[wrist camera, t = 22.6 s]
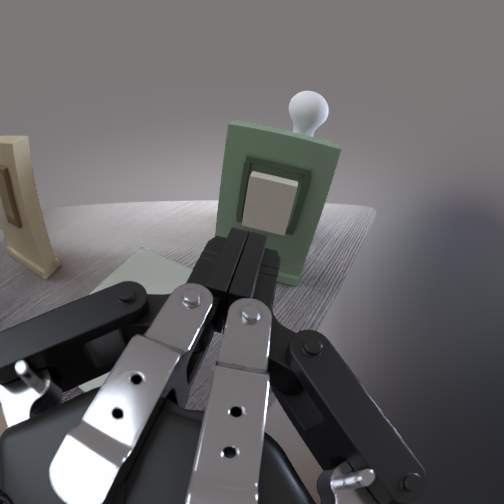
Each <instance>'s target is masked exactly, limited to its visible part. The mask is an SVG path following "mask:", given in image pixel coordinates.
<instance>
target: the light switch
mask: <svg viewBox="0 0 504 504" xmlns="http://www.w3.org/2000/svg"><path fill="white" fill-rule="evenodd" d="M192 271H193V269H191V268H189V267H186V266H184V265H182V264H179V263H177V262H175V261H172V260H170V259H168V258H166V257H163V256H161V255H159V254H157V253H154V252H152V251H150V250H148V249H145V248H143V247H142V248H140V249H139V250H137V251H136V252H135V253H134V254H133V255H132V256H130V257H129V258H128V259H127V260H126V261H125V262H124V263H123V264H121V265H120V266H119V267H118V268H117V269H116V270H115V271H114V272H112V273H111V274H110V275H109V276H108V277H107V278H106V279H105V280H104V281H103V282H102V283H101V284H99V285H98V286H97V287H96V288H95V289H94V290H93V291H92V292H91V293H90V294H93V293H95V292H98V291H100V290H103V289H105V288H108V287H110V286H113V285H115V284H118V283H120V282H124V281H134V282H137V283H139V284H141V285H142V286H143V287H144V288H145V289H146V292H147V294H170V293H172V292H173V291H174V289H176V288H177V287H178V286H180V285H183V284H185V283H186V282H187V280H188V278H189V276H190V274H191V272H192ZM90 294H89V295H90ZM109 373H110V372H109ZM109 373H106V374H104V375H102V376H100V377H97V378H95V379H93V380H91V381H89V382H86V383H84V384H82V385H79V386H77V387H79V388H80V389H81V390H82V391H83V392H87V391H89V390H91V389H94V388H97V387H100V386H102V384H103V383H104V381H105V380H106V378H107V376H108V375H109Z"/></svg>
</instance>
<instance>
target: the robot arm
mask: <svg viewBox="0 0 504 504" xmlns="http://www.w3.org/2000/svg"><path fill="white" fill-rule="evenodd" d="M266 241H267V235H263V234H259V233H255V232H250V234H249V231H247V230H243V229H238V228H234V227H232V228H231V230H230V232H229V234H228V236H227V238H224V237H220V236H216V237H214V238H213V239H211V240H210V241H208V243H207V245H206V247H205V248H204V251H203V252H202V254H201V256H200V258H199V259H198V261H197V263H196V265H195V267H194V269H193V271H192V272H191V274H190V276H189V278H188V280H187V282H186V283H185V284H183V285H180V286H178V287H177V288H176V289H174V291H173V292H172V293H170V294H147V292H146V289H145V288H144V287H143V286H142V285H141V284H139V283H137V282H134V281H124V282H120V283H118V284H115V285H113V286H110V287H108V288H105V289H103V290H100V291H98V292H95V293H93V294H90V295H88V296H85V297H83V298H80V299H78V300H75V301H73V302H71V303H68V304H66V305H63V306H61V307H58V308H56V309H54V310H51V311H49V312H46V313H44V314H42V315H39V316H37V317H35V318H32V319H30V320H27V321H25V322H23V323H20V324H18V325H16V326H13V327H11V328H9V329H7V330H4V331H2V332H0V402H1V407H2V410H3V414H4V418H5V421H6V424H7V429H6V430H5V431H4V432H3V433H2V435H1V437H0V504H316V503H315V501H314V500H313V498H312V497H311V495H310V494H309V492H308V490H307V489H306V487H305V486H304V484H303V482H302V481H301V479H300V477H299V476H298V474H297V473H296V471H295V469H294V467H293V466H292V464H291V462H290V461H289V459H288V457H287V456H286V454H285V452H284V451H283V449H282V448H281V447H280V445H279V444H278V443H277V442H276V441H275V440H274V439H273V438H272V437H271V436H269V435H268V434H267V433H265V432H264V430H265V421H266V412H267V402H268V392H269V385H270V386H271V389H272V391H273V393H274V395H275V396H276V398H277V399H278V401H279V403H280V404H281V406H282V408H283V409H284V411H285V412H286V414H287V416H288V417H289V419H290V420H291V422H292V424H293V425H294V427H295V428H296V430H297V431H298V433H299V435H300V436H301V438H302V439H303V441H304V442H305V444H306V445H307V447H308V448H309V449H310V451H311V453H312V454H313V456H314V457H315V459H316V460H317V462H318V463H319V465H320V466H321V468H322V469H323V470H324V471H323V472H322V473H321V475H320V476H319V478H318V480H317V491H318V493H319V495H320V498H321V504H407V503H410V502H413V501H415V500H416V499H417V498H419V497H420V495H421V494H422V493H423V491H424V489H425V487H426V482H427V475H426V472H425V470H424V468H423V467H422V465H421V464H420V462H419V461H418V460H417V458H416V457H415V456H414V454H413V453H412V452H411V450H410V449H409V447H408V446H407V445H406V443H405V442H404V441H403V439H402V438H401V437H400V435H399V434H398V433H397V431H396V430H395V428H394V427H393V426H392V424H391V423H390V422H389V420H388V419H387V418H386V416H385V415H384V414H383V412H382V411H381V410H380V408H379V407H378V406H377V404H376V403H375V401H374V400H373V399H372V397H371V396H370V395H369V393H368V392H367V391H366V389H365V388H364V387H363V385H362V384H361V383H360V382H359V380H358V379H357V377H356V376H355V375H354V373H353V372H352V371H351V369H350V368H349V367H348V365H347V364H346V363H345V362H344V360H343V359H342V357H341V356H340V355H339V353H338V352H337V351H336V350H335V348H334V347H333V345H332V344H331V343H330V341H329V340H328V339H327V338H326V337H325V336H324V335H322V334H321V333H319V332H317V331H313V330H303V331H300V332H298V333H295V332H293V331H291V330H289V329H287V328H286V327H284V326H283V325H281V324H280V323H279V322H278V321H277V319H276V318H275V316H274V314H273V309H272V307H273V301H274V295H275V290H276V284H277V279H278V273H279V267H280V262H281V259H280V256H279V254H278V251H277V250H273V249H269V248H265V245H266ZM223 325H224V327H223ZM222 328H223V337H222V342H221V346H220V351H219V355H218V359H217V362H216V365H215V369H214V373H213V377H212V382H211V386H210V391H209V395H208V400H207V404H206V409H205V411H199V410H187V409H184V408H185V406H186V403H187V400H188V397H189V392H190V389H191V386H192V384H193V382H194V380H195V377H196V375H197V373H198V371H199V369H200V366H201V364H202V362H203V360H204V358H205V355H206V353H207V351H208V349H209V344H210V342H211V340H212V337H213V334H214V331H215V332H219V333H221V331H222ZM109 372H110V373H109ZM106 373H109V375H108V376H107V378H106V380H105V381H104V383H103V384H102V386H100V387H97V388H94V389H91V390H89V391H87V392H85V393H83V394H81V395H79V396H77V397H75V398H73V399H71V400H68V401H66V402H64V403H62V399H61V398H62V393H63V392H65V391H68V390H70V389H72V388H75V387H77V386H79V385H82V384H84V383H86V382H89V381H91V380H93V379H95V378H97V377H100V376H102V375H104V374H106ZM61 403H62V404H61Z"/></svg>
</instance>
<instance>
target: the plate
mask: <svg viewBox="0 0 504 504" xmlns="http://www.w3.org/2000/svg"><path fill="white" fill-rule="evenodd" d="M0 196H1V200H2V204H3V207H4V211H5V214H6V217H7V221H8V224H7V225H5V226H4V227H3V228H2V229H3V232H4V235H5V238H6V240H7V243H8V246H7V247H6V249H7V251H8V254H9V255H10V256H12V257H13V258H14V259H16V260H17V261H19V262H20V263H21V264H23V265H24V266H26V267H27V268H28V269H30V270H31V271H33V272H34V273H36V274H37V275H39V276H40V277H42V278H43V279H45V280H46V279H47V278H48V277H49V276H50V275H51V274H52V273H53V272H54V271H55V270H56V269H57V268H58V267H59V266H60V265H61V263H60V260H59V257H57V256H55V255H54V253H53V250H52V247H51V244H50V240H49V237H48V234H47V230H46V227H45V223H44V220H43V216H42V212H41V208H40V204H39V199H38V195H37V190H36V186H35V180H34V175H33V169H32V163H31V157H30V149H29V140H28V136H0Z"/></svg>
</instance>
